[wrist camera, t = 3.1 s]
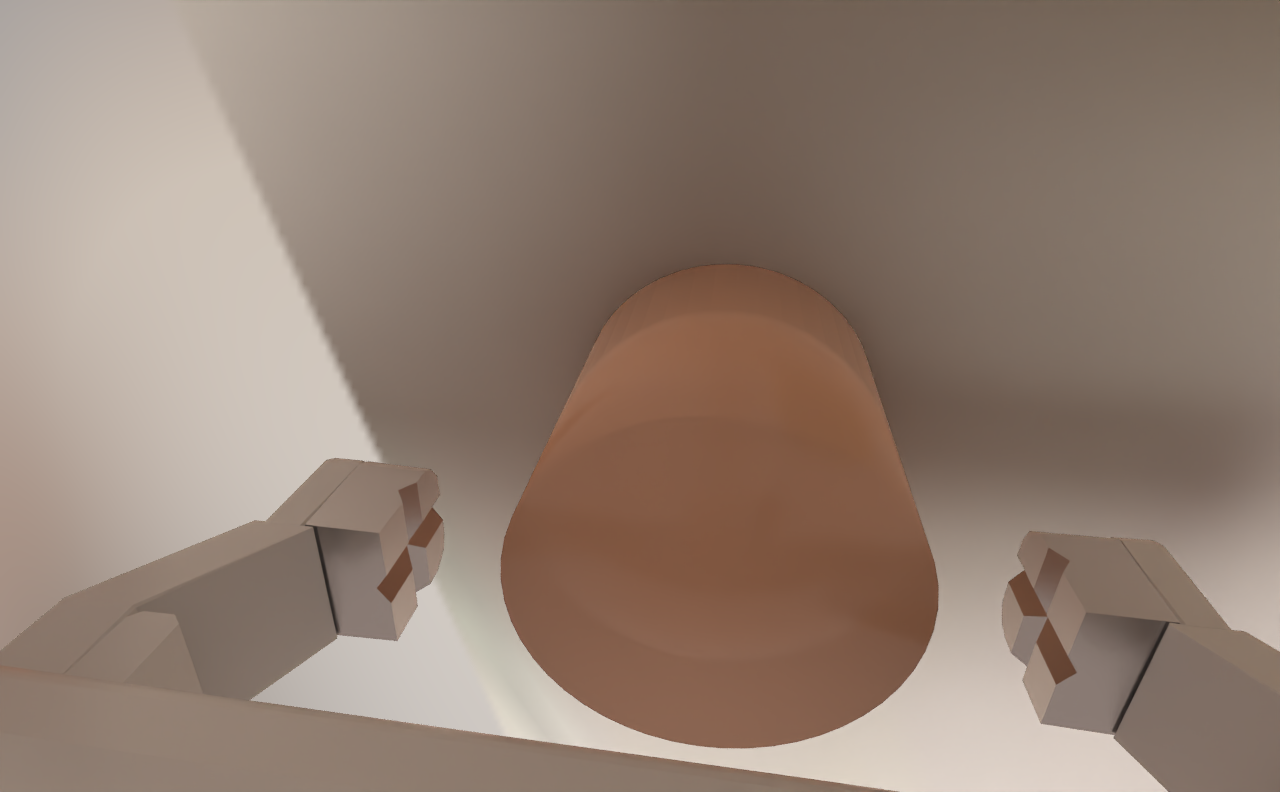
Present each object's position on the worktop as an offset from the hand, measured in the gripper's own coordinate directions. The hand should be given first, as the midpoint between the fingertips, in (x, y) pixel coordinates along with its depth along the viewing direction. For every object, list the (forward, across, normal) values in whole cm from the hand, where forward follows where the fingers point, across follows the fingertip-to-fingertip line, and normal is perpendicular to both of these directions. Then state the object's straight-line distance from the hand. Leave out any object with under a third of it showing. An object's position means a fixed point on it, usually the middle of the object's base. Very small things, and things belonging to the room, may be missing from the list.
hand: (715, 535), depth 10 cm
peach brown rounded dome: (+3, 0, 0) cm, 3 cm away
